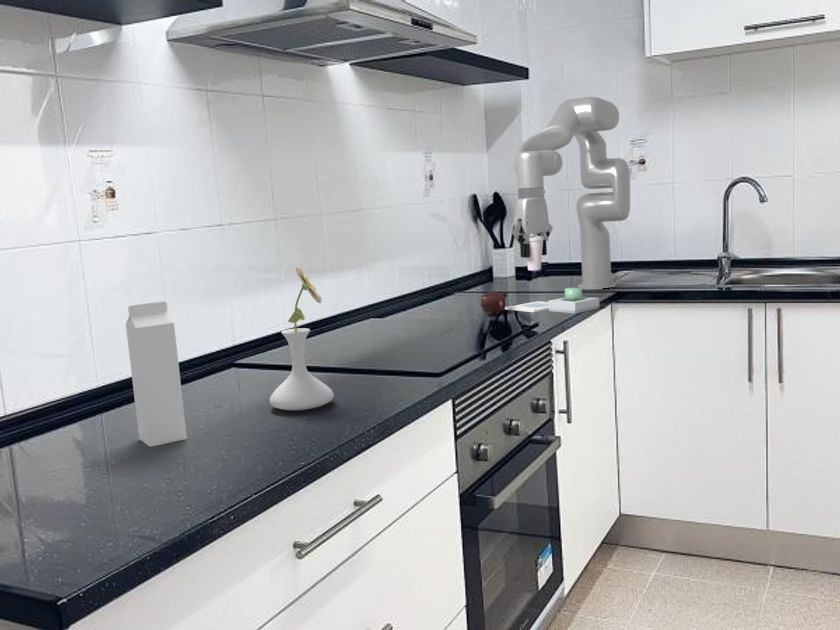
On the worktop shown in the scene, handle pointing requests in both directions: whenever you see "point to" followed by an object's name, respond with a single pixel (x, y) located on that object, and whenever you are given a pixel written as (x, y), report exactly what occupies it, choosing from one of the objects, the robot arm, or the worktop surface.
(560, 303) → the grey square block
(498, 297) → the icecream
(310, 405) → the flower in vase
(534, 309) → the paper pad
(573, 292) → the button
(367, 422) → the worktop surface
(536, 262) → the smoothie
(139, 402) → the milk
